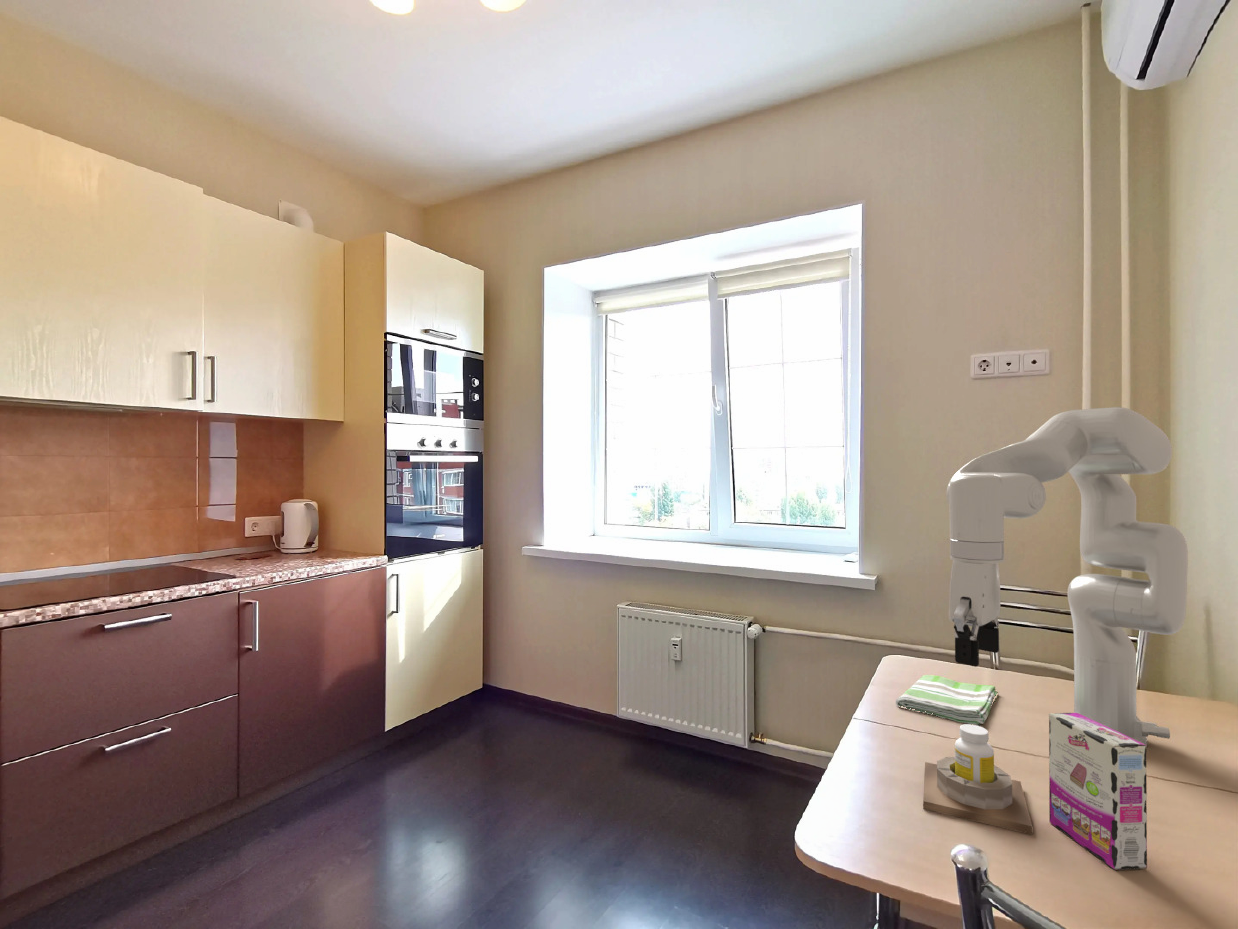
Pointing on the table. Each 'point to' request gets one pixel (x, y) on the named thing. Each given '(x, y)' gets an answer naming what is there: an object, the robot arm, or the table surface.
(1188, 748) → the table surface
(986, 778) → the supplement bottle
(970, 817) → the hub block
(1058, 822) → the candy bar box
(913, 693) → the dish towel
